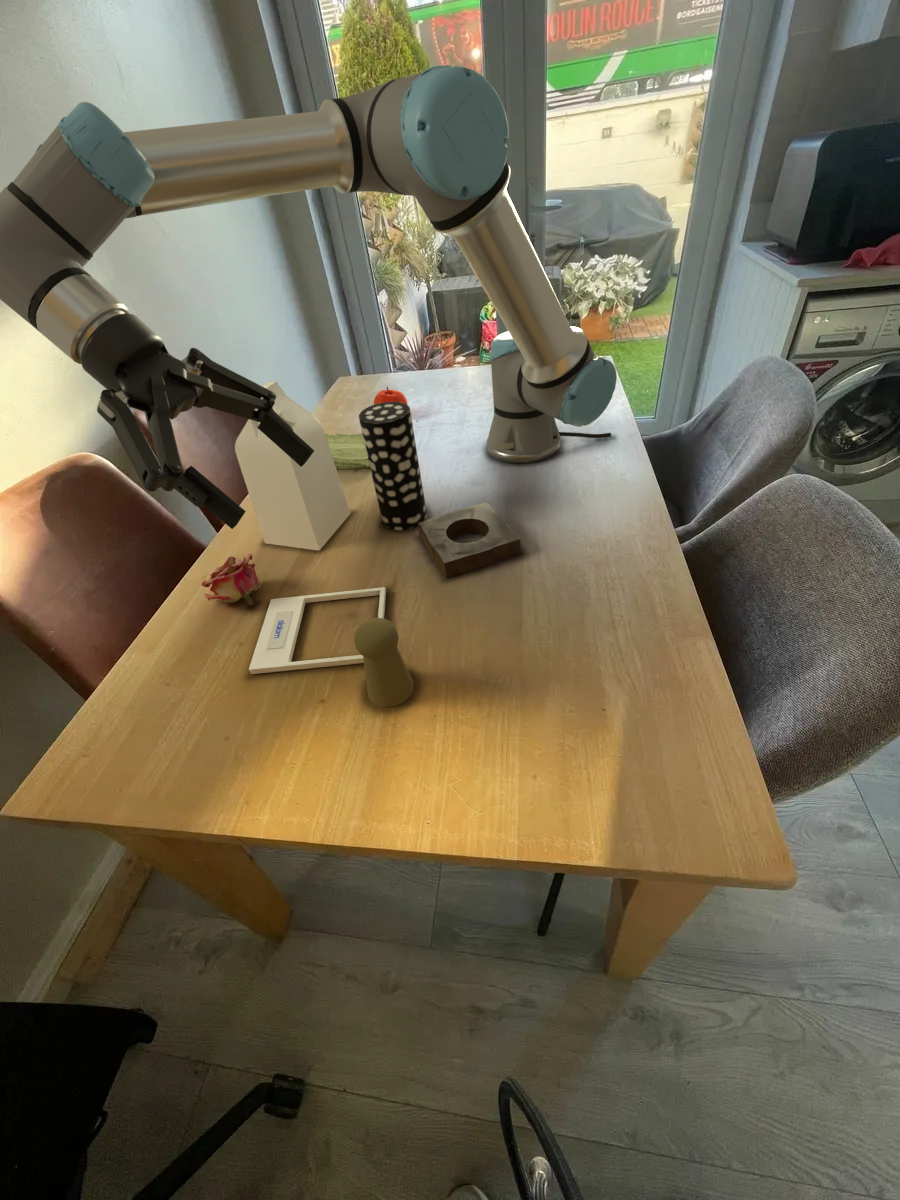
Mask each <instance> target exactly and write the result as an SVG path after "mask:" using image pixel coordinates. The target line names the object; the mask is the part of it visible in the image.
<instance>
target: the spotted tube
mask: <svg viewBox="0 0 900 1200" xmlns="http://www.w3.org/2000/svg"><path fill="white" fill-rule="evenodd" d="M407 404H408V403H407ZM407 404H405V403H401V402H384V403H379V404H375V405H374V404H372V405H370V406H367V407H366V408H364V409H362V410H361V411H360V413H358V420H359V424H360V428H361V434H363V438H364V442H365V447H366V451H367V456H368V460H369V464H370V468H369V469H370V473H371V477H372V482H373V486H374V491H375V495H376V500H377V504H378V508H379V512H380V517H381V522H382V524H383V526H385V527H386V528H388V529H390V530H394V531H405V530H410V529H413V528H416V527H418V523H419V522H422V521H426V520H427V517H428V512H427V505H426V499H425V494H424V487H423V482H422V475H421V469H420V462H419V456H418V449H417V444H416V439H415V432H414V425H413V418H412V413H411V407H410V406H409V405H407Z"/></svg>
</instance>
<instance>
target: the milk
mask: <svg viewBox="0 0 900 1200" xmlns="http://www.w3.org/2000/svg"><path fill="white" fill-rule="evenodd" d="M261 386H262V387H264V388H266V389H268V390H270V391H272V392H274V393H275V394H276V399H275V404H274V406H273V410H274V411H275V412H276V413H277V414H278V415H279V416H280V417H281V418H283V419H284V421H286V422H287V423H288V424H289V425H290V426H291V427H292V428H293V432H294V433H296V434H297V435H298V436H299V437H300V438H301V439H302V440H303V441H304V442H305V443H307V444H308V445H309V446H310V447H311V448H312V449H313V450H314V452H313V453H312V455H311V456H310V457H309V459H308V460H307V462H306V463H305V464H304V465H303V466H302V467H301V466H299V465H298V464H297V463H296V462H295V461H294V460H293V459H292V458H291V457H289V456H288V455H287V454H286V453H285V452H284V451H283V450H282V449H280V448H279V447H278V446H277V445H276V444H275V443H274V442H273V441H272V440H270V439H269V438H268V437H267V436H266V435H265V434H264V433H263V432H261V431H260V430H259V429H258V426H259V424H260V423H261V422H257V421H254V420H250V419H247V421H246V423H245V424H244V426H243V428H242V429H241V431H240V432H239V435H238V436H237V438H236V440H235V443H234V451H235V455H236V459H237V461H238V465H239V468H240V471H241V474H242V477H243V480H244V483H245V486H246V489H247V492H248V495H249V499H250V502H251V504H252V508H253V511H254V514H255V517H256V520H257V524H258V527H259V529H260V532H261V535H262V539H263V541H264V544H268V545H276V546H282V547H290V548H296V549H304V550H311V551H318V552H320V551H321V550H322V548H323V547H324V546H325V545H326V544H327V542H328V541H329V540H330V539H331V538H332V536H333V535H334V534H335V533H336V532H337V531H338V529H339V528H340V527H341V526H342V524H343V523H344V522H345V521H346V520H347V519H348V517H349V516H350V515H351V509H350V507H349V504H348V501H347V498H346V494H345V491H344V489H343V485H342V482H341V480H340V476H339V472H338V469H336V466H335V463H334V460H333V457H332V454H331V451H330V448H329V445H328V442H327V439H326V436H325V434H326V433H325V429H324V427H323V424H322V422H321V421H320V419H318V417H316V416H315V415H314V414H313V413H311V412H310V411H309V410H307V409H306V408H304V407H303V406H302V405H301V404H299V403H297V402H296V401H295V400H294V399H292V398H290V396H287V394H286V393H285V392H284V390H283V388H282V387H281V386H280V385H279V383H278V382H277V381H275V380H274V381H272V380H271V381H270V380H269V381H268V382H266V383H265V384H263V385H261ZM261 399H263V398H262V397H261ZM255 410H256V411H257V410H258V409H255Z"/></svg>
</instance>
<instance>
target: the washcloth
mask: <svg viewBox="0 0 900 1200" xmlns="http://www.w3.org/2000/svg"><path fill="white" fill-rule="evenodd" d="M325 436H326V439H327V442H328V445H329V448H330V451H331V454H332V457H333V460H334V463H335V466H336V470H352V469H366V468H367V469H368V468H369V469H370V464H369V460H368V456H367V451H366V447H365V442H364V438H363V433H350V434H348V433H337V432H336V433H325Z"/></svg>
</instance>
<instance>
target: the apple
mask: <svg viewBox="0 0 900 1200" xmlns="http://www.w3.org/2000/svg"><path fill="white" fill-rule="evenodd" d="M384 402H401V403H405V404H407V405H408V400H407V397H406V396H405V394H404V393H403V392H401V391H400V390H396V389H389V387H388V386H386V389H381V390H380V391H378V393H377V394H376V395H375V397H374V399H373V405H375V404H379V403H384ZM408 406H409V405H408Z"/></svg>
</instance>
